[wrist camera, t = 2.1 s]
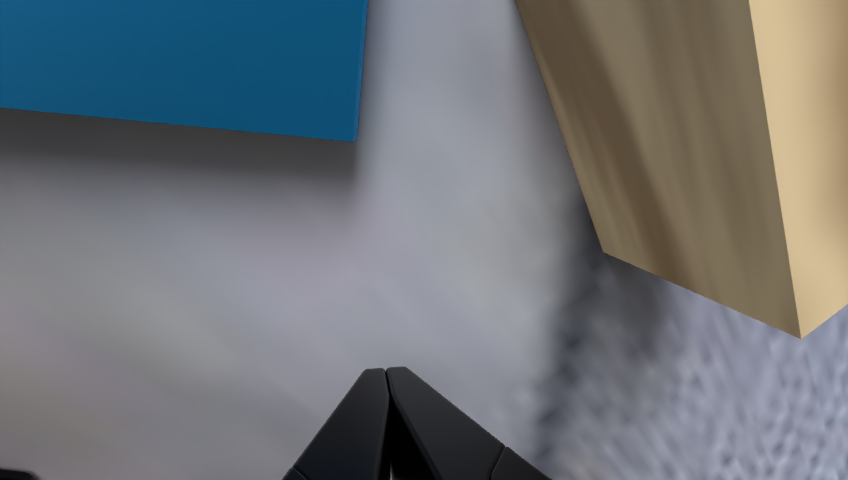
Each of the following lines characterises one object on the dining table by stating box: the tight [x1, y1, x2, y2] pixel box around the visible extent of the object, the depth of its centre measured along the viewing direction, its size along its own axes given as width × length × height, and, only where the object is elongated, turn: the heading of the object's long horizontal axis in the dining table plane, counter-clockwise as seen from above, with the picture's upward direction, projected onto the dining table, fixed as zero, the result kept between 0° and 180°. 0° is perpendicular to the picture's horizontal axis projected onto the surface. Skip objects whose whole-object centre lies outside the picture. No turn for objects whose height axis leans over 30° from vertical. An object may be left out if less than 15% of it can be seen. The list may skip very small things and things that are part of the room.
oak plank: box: [515, 0, 848, 339], centre depth 18 cm, size 4×14×10 cm, turn 27°
